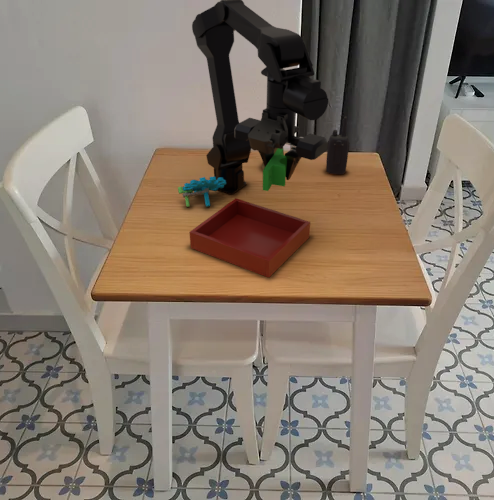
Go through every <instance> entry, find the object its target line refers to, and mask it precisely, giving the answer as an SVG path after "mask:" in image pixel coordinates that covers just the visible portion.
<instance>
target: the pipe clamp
mask: <svg viewBox="0 0 494 500" xmlns="http://www.w3.org/2000/svg"><path fill="white" fill-rule="evenodd" d="M283 150H284V148H283V149H279V148H278V149H277V151H276V152H275V154H274V155H273V156H272V158H271V159H270V161H269V162H268V164H267V165H266V167H265V168H264V170H263V169H262V191H264V192H269V190H270V189H271V187H272V186H280V187H285V186H286V166H287V158H286V156H285V154H284V155H283Z"/></svg>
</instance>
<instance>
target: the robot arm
mask: <svg viewBox="0 0 494 500" xmlns="http://www.w3.org/2000/svg"><path fill="white" fill-rule="evenodd" d="M191 30H192V33H193V36H194V39H195V42H196V43H195V44H196V47H197V48H198V49H199V50H200V52H201V53H202V54H203V55H204V57H205V58H206V62H207V69H208V75H209V82H210V87H211V94H212V99H213V106H214V112H215V120H216V127H215V129H214V132H213V135H212V148H211V149H210V150H209V151H208V153H206V154H205V155H206V160H207V161H206V162H207V164H208V165H209V166H211V168H213V177H214V176H215V177H216V180H217V179H218V178H219V177H221V178H223V179H224V180H226V185H224V188H218V190H217V191H220V192H223V193H226V194H229V195H233V194H235V193H236V192H238V191H239V190H240V189H242V188H243V187H245V186H246V185H247V182H246V181H245V171H244V170H243V164H247V163H249V160H250V155H251V153H252V152H251V151H252V150H253V151H257V152H258V153H259V156H260V158H261V161H262V165H263V164H264V166H265V167H266V165H267V164H268V162H269V161H270V159H271V158H272V156H273V155H274V149H275V148H279V149H282V148H283V149H284V146H285V145H288V146H290V147H289V148H290V149H289V150H288V151H287V152H284V155H285V156H286V158H287V166H286V178H285V181H289V180H291V178H292V177H293V174H294V172H295V170H296V168H297V166H298V164H299V162H300V160H301V159H307V160H310V161H314V160H315V161H316V160H317V159H318V158H319V157H321V156H322V155H323V154H324V153H327V145H328V141H327V138H326V137H325V136H321V135H318V134H313V133H308V134H307V135H305V136H296V133H298V132H299V126H297V125H296V114H297V115H299V116H301V117H302V118H305V119H307V120H309V121H317V120H318V119H320V118H321V117H322V116H323V115H324V114H325V112H326V111H327V109H328V105H329V98H328V93H327V92H326V91H325V90H324V89H323V88H322V87H321V85H322V83H321V80H318V79H315V78H314V79H313V78H311V77H313V76H315V71H314V68H313V66H314V64H313V63H312V60H311V59H310V56H309V53H308V50H307V47H306V43H305V41H304V39H303V37H302V36H301V35H300V34H299V33H298V32H295V31H292V30H290V29H287V28H282V27H276V26H273V25H272V24H271V23H269V21H267V20H266V19H265V18H263V17H262V16H260V15H259V14H258V13H256V11H254V10H252V9H251V8H250V7H249V6H247V5H246V4H245V2H244V1H243V0H219V1H217V2H216V3H215V4H214V5H213V6H212V7H210V8H208V9H206V10H204V11H202V12H201V13H198V14H196V15H195V17H194V20H193V21H192V24H191ZM235 32H236V33H237V34H239V35H240V36H242V37H243V38H244V39H245V40H247V41H248V42H249V43H250V44H252V46H254V47H255V48H256V50H257V57H258V59H259V60H260V61H261V63H263V65H264V66H265V67H264V68H263V69H262V70H261V71H260V74H261V75H262V76H264V77H266V108H264V109H262V113H261V119H257V118H253V117H248V118H246V119H244V120H243V121H240V120H239V113H238V108H237V107H238V105H237V100H236V93H235V87H234V80H233V73H232V66H231V60H230V59H231V58H230V54H231V51H232V48H233V45H234V43H235ZM298 66H300V67H298ZM292 67H294V68H292ZM287 68H289V69H287Z"/></svg>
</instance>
